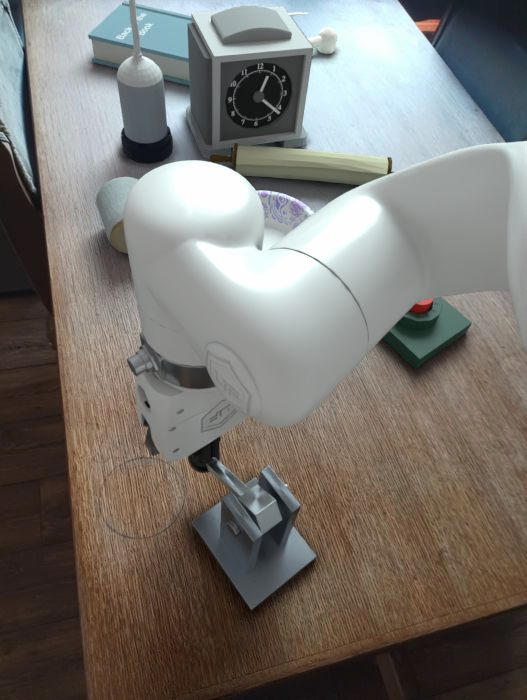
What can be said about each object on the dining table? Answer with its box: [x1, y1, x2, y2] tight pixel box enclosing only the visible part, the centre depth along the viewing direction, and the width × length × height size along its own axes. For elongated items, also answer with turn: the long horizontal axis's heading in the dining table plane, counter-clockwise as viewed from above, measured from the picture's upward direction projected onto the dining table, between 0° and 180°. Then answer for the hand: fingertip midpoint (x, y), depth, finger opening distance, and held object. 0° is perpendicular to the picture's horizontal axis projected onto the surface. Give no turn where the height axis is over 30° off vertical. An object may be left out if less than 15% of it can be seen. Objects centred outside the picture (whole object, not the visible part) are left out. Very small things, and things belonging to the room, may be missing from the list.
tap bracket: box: [191, 464, 318, 613], centre depth 49 cm, size 10×8×12 cm
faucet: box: [288, 12, 338, 55], centre depth 108 cm, size 4×18×10 cm, turn 122°
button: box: [409, 298, 434, 314], centre depth 69 cm, size 4×4×2 cm
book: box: [87, 0, 192, 87], centre depth 104 cm, size 23×16×5 cm
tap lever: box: [187, 451, 282, 534], centre depth 50 cm, size 13×3×3 cm
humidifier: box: [116, 0, 174, 165], centre depth 79 cm, size 8×8×25 cm
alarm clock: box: [185, 5, 314, 159], centre depth 87 cm, size 18×13×18 cm
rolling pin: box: [208, 143, 395, 186], centre depth 86 cm, size 32×6×5 cm, turn 87°
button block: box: [382, 297, 473, 370], centre depth 71 cm, size 12×10×4 cm
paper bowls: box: [256, 190, 315, 250], centre depth 72 cm, size 15×15×8 cm
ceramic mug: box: [95, 176, 139, 254], centre depth 75 cm, size 11×8×8 cm
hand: (203, 448), depth 53 cm, fingers closed
